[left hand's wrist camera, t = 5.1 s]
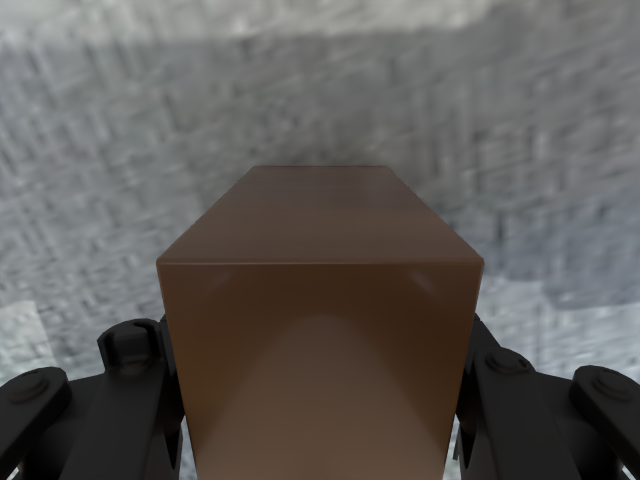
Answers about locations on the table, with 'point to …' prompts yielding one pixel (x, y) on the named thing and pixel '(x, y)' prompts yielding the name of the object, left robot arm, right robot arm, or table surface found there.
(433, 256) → the beam
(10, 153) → the table surface
